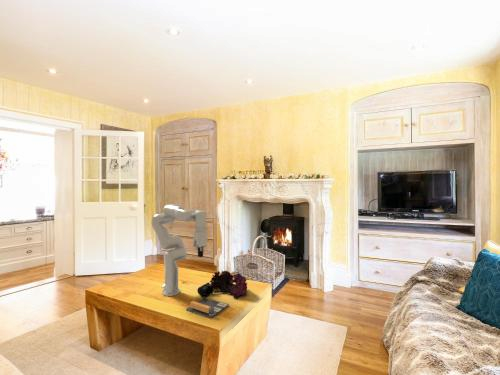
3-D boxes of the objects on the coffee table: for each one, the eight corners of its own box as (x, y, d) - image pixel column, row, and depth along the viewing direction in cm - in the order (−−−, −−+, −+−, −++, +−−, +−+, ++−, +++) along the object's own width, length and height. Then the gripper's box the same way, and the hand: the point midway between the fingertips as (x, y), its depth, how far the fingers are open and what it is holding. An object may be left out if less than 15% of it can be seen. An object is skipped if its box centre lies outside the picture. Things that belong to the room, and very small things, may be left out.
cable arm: (215, 312, 158) (215, 307, 158) (211, 314, 155) (211, 309, 155) (193, 305, 166) (193, 300, 166) (189, 307, 164) (189, 302, 164)
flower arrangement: (205, 291, 192) (205, 270, 192) (220, 283, 210) (220, 264, 210) (241, 300, 177) (241, 279, 178) (254, 291, 195) (254, 271, 195)
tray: (186, 310, 164) (186, 307, 164) (204, 299, 180) (204, 297, 180) (212, 318, 154) (212, 315, 154) (228, 306, 170) (228, 303, 170)
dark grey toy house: (206, 290, 194) (206, 281, 194) (213, 292, 190) (213, 283, 190) (197, 295, 185) (197, 286, 185) (205, 297, 182) (204, 288, 182)
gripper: (203, 227, 180) (203, 253, 180) (188, 230, 167) (188, 258, 167) (212, 228, 177) (211, 254, 177) (197, 231, 163) (197, 260, 164)
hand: (200, 256), depth 172 cm, fingers closed
